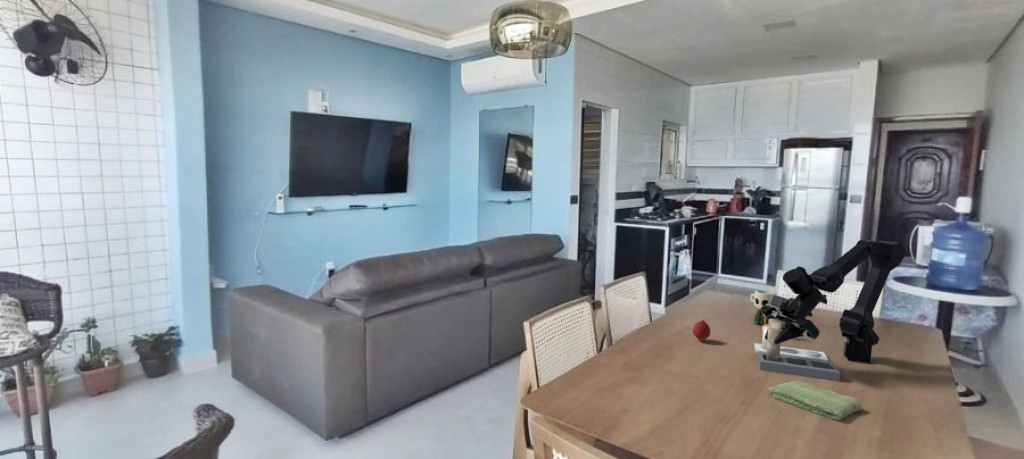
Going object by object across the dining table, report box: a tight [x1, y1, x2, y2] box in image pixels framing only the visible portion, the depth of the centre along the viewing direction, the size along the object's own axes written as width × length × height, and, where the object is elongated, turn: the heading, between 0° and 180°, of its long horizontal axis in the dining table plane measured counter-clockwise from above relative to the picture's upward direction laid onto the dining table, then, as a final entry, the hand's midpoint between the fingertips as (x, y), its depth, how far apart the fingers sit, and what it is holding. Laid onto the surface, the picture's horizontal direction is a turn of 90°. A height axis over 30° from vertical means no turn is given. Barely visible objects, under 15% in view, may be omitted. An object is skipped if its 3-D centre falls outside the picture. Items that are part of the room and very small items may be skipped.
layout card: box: [753, 326, 830, 361], centre depth 161 cm, size 20×8×8 cm, turn 68°
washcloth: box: [768, 380, 862, 422], centre depth 127 cm, size 13×18×3 cm
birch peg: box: [766, 319, 783, 362], centre depth 150 cm, size 4×4×13 cm
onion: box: [692, 318, 711, 342], centre depth 172 cm, size 6×6×8 cm
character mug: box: [749, 289, 778, 326], centre depth 193 cm, size 11×7×13 cm, turn 39°
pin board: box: [756, 352, 841, 382], centre depth 148 cm, size 20×9×2 cm, turn 68°
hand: (770, 341), depth 150 cm, fingers closed on birch peg, 3 cm apart
